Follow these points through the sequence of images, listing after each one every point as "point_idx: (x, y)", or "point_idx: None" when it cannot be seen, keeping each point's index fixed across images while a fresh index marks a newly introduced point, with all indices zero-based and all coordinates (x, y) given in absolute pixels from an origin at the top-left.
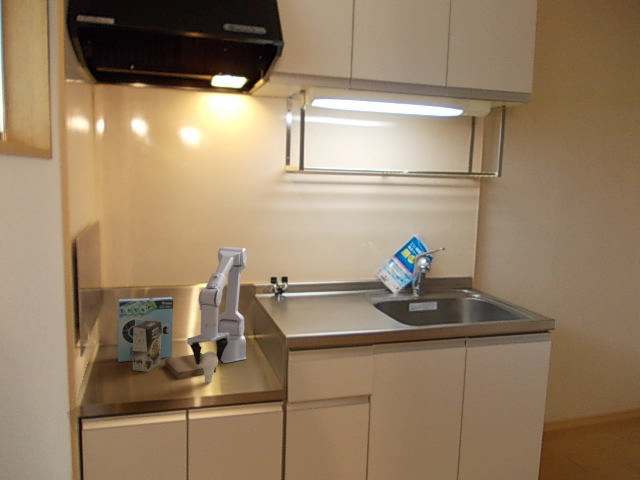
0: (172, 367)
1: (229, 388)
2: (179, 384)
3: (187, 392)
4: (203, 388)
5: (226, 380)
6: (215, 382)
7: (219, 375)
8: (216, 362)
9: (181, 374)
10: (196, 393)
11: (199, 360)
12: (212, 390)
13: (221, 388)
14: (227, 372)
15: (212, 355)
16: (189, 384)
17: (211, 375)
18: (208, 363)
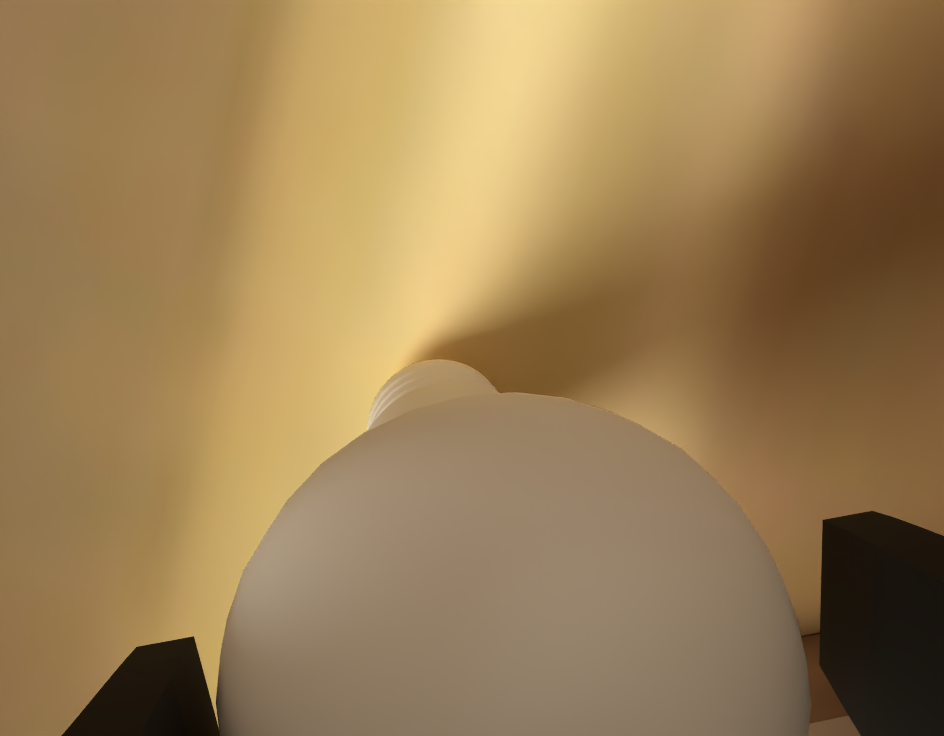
0: None
1: (97, 16)
2: (868, 470)
3: (873, 134)
4: (581, 200)
5: (86, 404)
6: (310, 379)
7: (173, 631)
8: (321, 487)
9: (814, 689)
10: (757, 33)
11: (933, 560)
12: (453, 52)
13: (261, 79)
14: (3, 713)
15: (493, 693)
16: (738, 427)
17: (416, 393)
18: (623, 428)
